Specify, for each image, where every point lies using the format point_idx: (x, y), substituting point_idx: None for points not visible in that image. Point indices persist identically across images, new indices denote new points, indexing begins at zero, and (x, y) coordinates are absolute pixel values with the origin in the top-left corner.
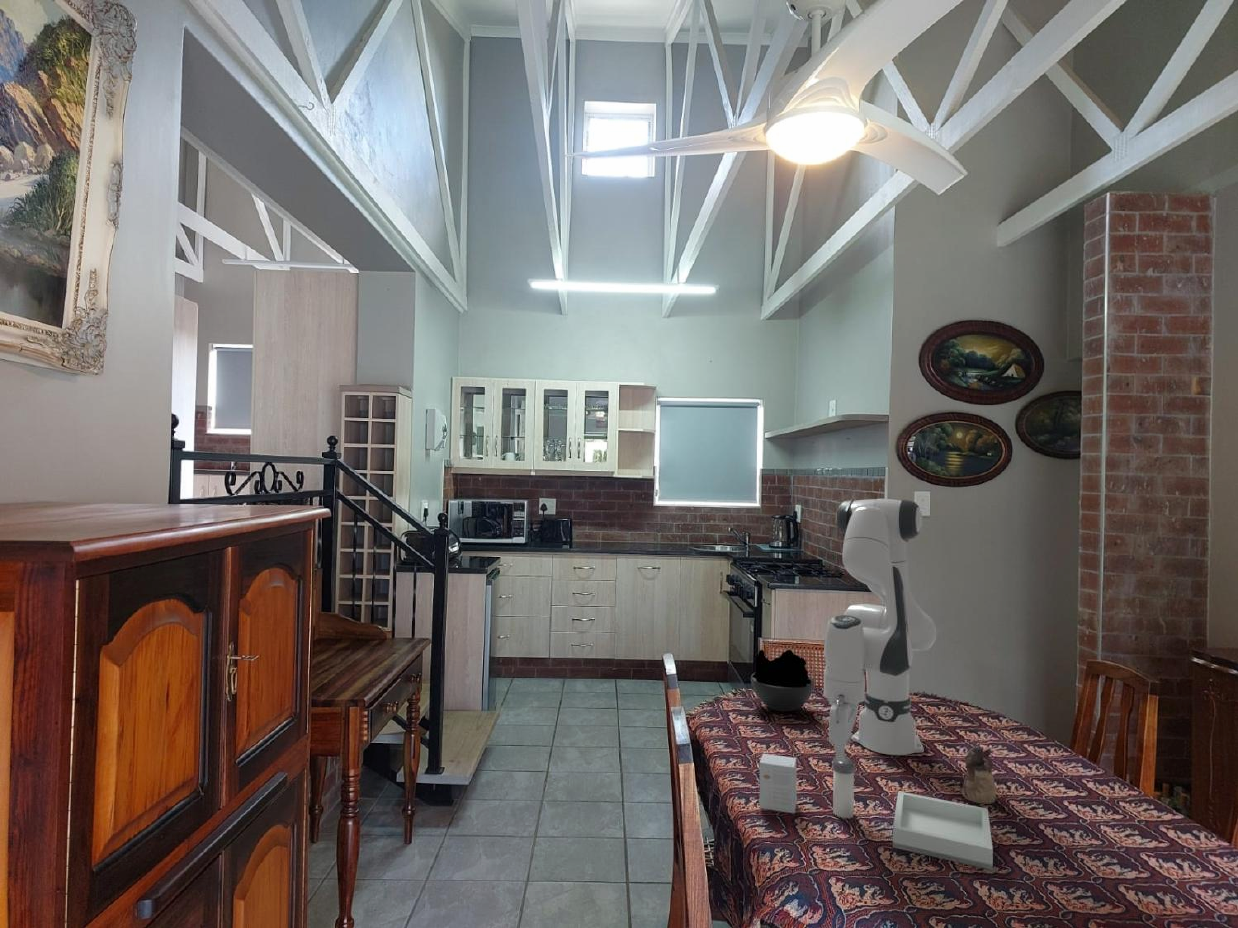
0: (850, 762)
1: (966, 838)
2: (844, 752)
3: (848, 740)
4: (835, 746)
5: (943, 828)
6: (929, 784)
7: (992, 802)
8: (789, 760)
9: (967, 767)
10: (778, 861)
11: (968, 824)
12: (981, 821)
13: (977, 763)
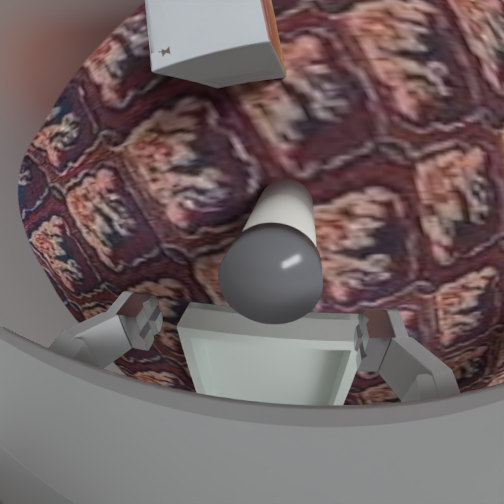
0: (275, 309)
1: (268, 391)
2: (132, 344)
3: (357, 356)
4: (73, 330)
5: (287, 374)
6: (465, 348)
7: None
8: (215, 25)
9: None
10: (48, 135)
11: (317, 397)
12: None
13: None
